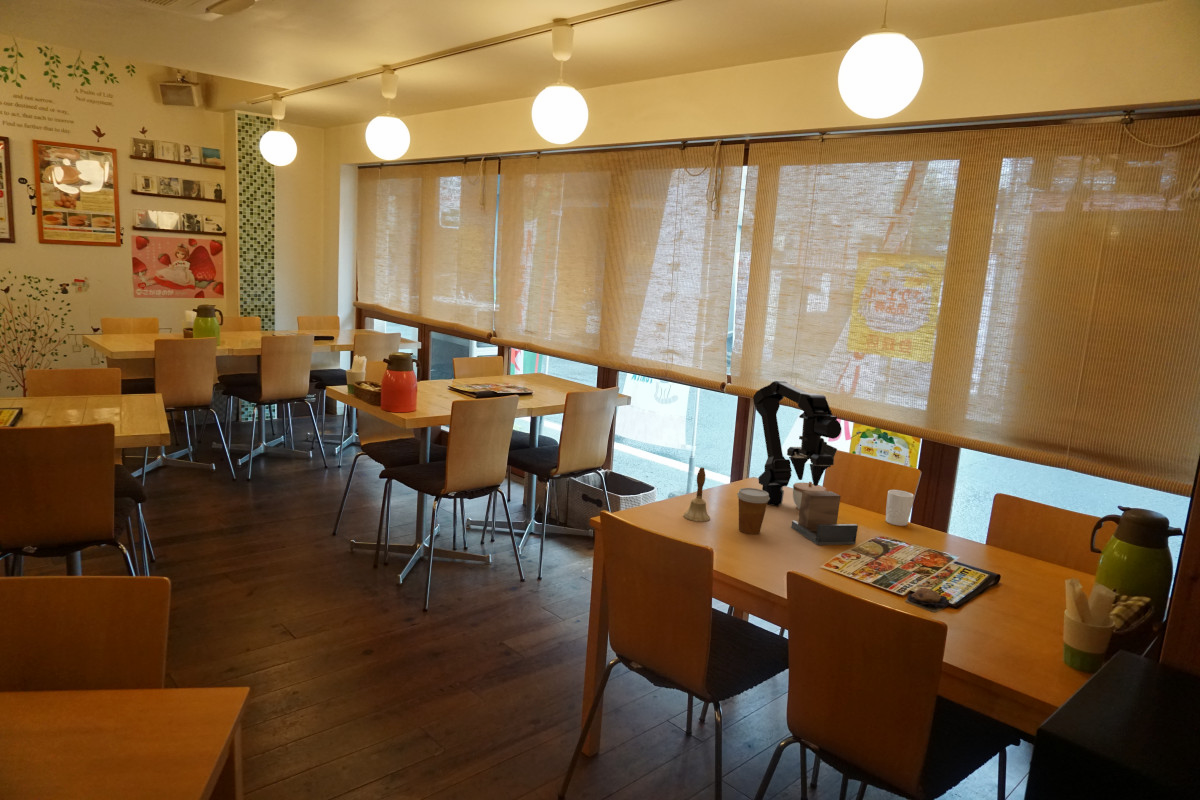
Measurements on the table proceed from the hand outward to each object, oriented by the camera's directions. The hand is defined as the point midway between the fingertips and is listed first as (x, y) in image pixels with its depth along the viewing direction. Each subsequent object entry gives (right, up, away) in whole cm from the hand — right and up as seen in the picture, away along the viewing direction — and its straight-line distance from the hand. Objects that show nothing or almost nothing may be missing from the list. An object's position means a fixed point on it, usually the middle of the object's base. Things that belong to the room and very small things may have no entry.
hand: (807, 482), depth 242 cm
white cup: (+31, -14, +7) cm, 35 cm away
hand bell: (-36, -10, -6) cm, 38 cm away
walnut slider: (0, -13, -10) cm, 16 cm away
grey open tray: (+1, -15, -13) cm, 20 cm away
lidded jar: (+4, -11, +14) cm, 18 cm away
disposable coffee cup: (-21, -13, -14) cm, 29 cm away
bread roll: (+14, -24, -57) cm, 63 cm away
